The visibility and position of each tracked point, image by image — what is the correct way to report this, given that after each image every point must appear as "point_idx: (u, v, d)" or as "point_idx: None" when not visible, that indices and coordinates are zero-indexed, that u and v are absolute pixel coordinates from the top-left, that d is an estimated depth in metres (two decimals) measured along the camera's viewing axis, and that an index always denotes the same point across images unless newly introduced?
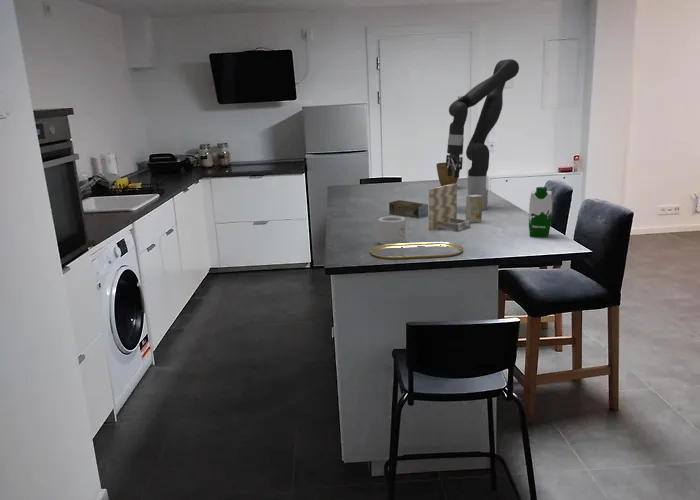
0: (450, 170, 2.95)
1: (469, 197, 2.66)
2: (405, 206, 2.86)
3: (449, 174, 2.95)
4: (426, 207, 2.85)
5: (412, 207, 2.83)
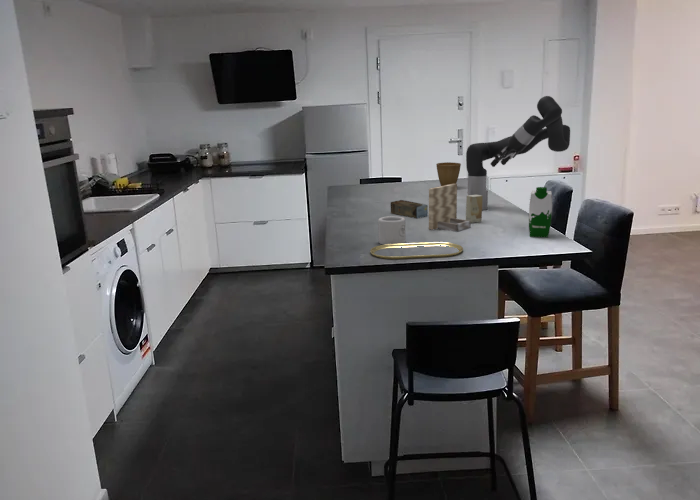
0: (506, 159, 2.57)
1: (469, 197, 2.66)
2: (404, 206, 2.86)
3: (502, 162, 2.59)
4: (425, 207, 2.84)
5: (411, 207, 2.83)
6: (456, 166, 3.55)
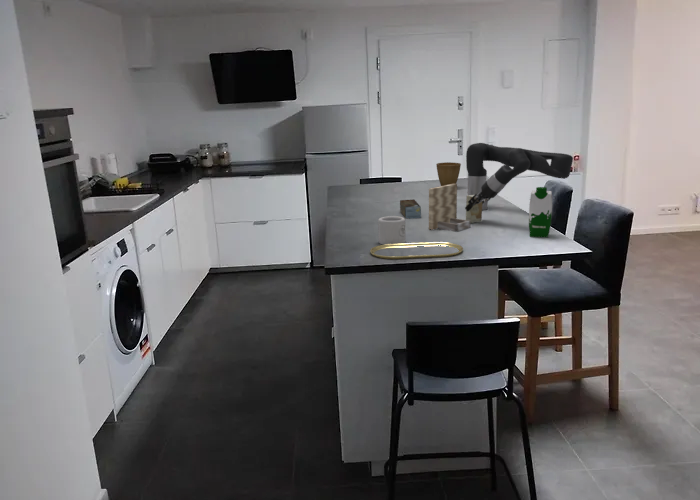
0: None
1: (469, 197, 2.66)
2: (402, 205, 2.89)
3: None
4: (417, 209, 2.81)
5: (404, 207, 2.84)
6: (456, 166, 3.55)
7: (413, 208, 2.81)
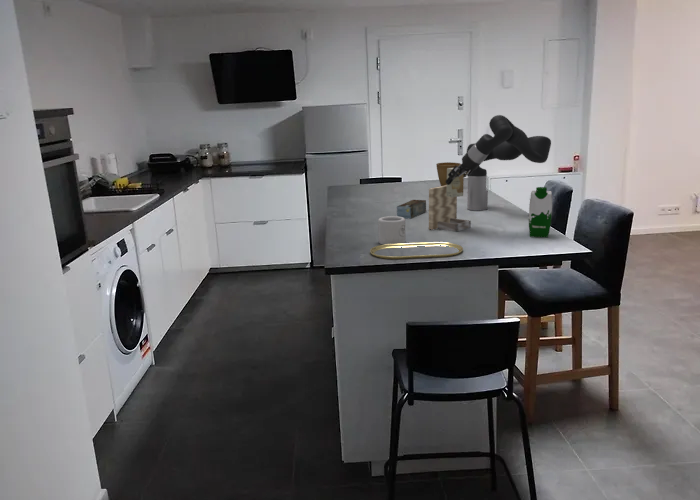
0: None
1: (449, 170, 2.51)
2: None
3: None
4: (407, 209, 2.81)
5: None
6: None
7: (403, 208, 2.82)
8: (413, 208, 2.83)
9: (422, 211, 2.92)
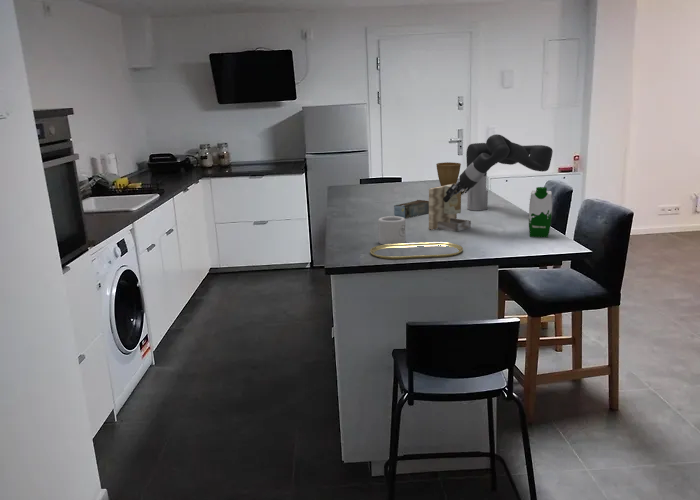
0: None
1: (447, 187, 2.53)
2: None
3: None
4: (402, 209, 2.82)
5: None
6: (456, 166, 3.55)
7: (399, 207, 2.84)
8: (409, 208, 2.83)
9: (424, 212, 2.90)
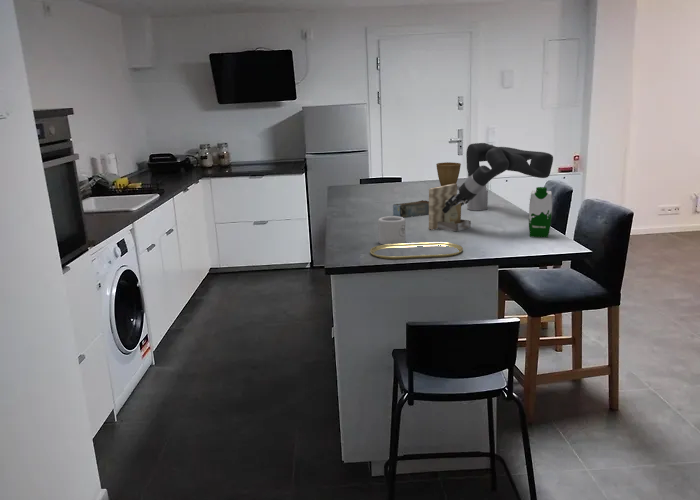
0: None
1: None
2: None
3: None
4: (398, 208, 2.84)
5: None
6: (456, 166, 3.55)
7: (396, 207, 2.86)
8: (406, 208, 2.84)
9: (424, 213, 2.88)
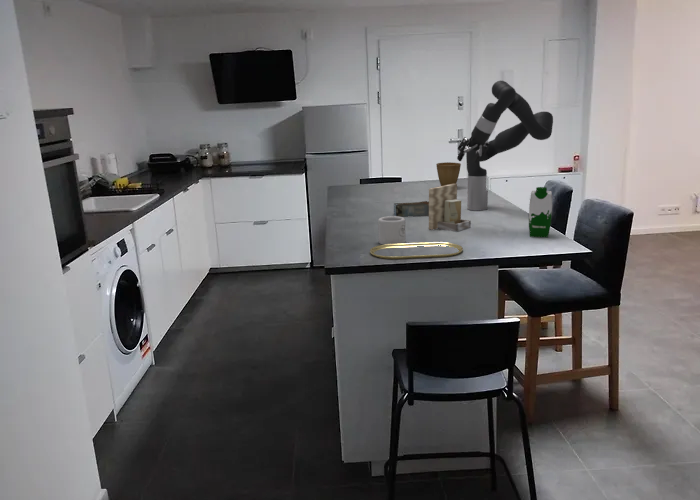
0: (476, 156, 2.53)
1: (447, 202, 2.55)
2: None
3: (473, 160, 2.54)
4: (395, 207, 2.86)
5: None
6: (456, 166, 3.55)
7: (394, 206, 2.88)
8: (403, 207, 2.85)
9: (423, 213, 2.86)
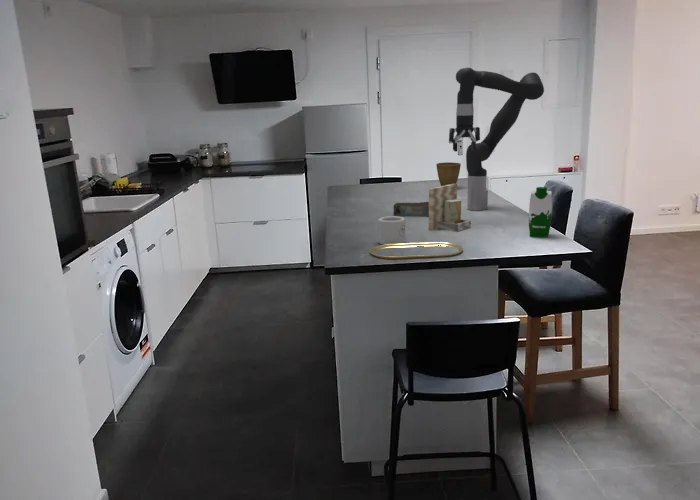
0: (472, 144, 2.67)
1: (447, 202, 2.55)
2: None
3: (472, 148, 2.67)
4: None
5: None
6: (456, 166, 3.55)
7: None
8: (401, 207, 2.86)
9: (421, 214, 2.85)
